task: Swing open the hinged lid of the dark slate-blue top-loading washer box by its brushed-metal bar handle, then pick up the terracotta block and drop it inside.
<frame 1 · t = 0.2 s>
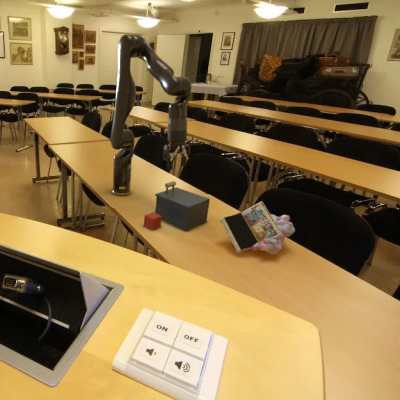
hand: (176, 167, 135), 22 cm above the table, tool pointing down, fingers open, 8 cm apart
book: (254, 246, 119), on the table
block: (152, 226, 135), on the table
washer: (180, 219, 140), on the table
lid: (182, 192, 136), point 13 cm above the table, hinge at 0.0°
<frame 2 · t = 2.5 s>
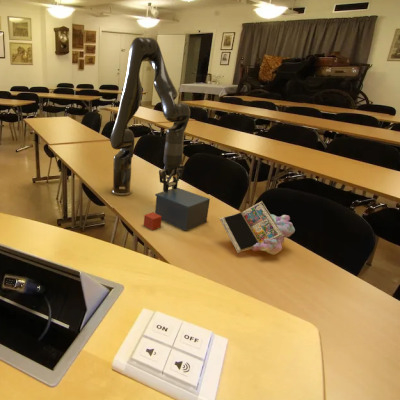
hand: (169, 190, 141), 12 cm above the table, tool pointing down, fingers closed on lid, 5 cm apart
lid: (182, 192, 136), point 13 cm above the table, hinge at 0.0°, touching gripper
everything else where it was.
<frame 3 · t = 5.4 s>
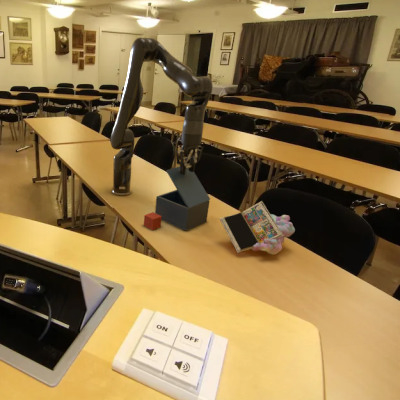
hand: (186, 172, 131), 22 cm above the table, tool pointing down, fingers closed on lid, 5 cm apart
lid: (192, 182, 130), point 18 cm above the table, hinge at 44.9°, touching gripper
everything else where it was.
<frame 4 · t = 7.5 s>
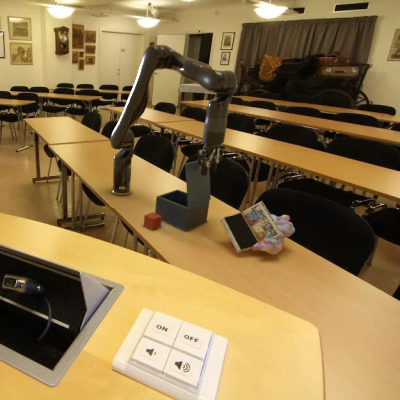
hand: (208, 173, 123), 24 cm above the table, tool pointing down, fingers closed on lid, 5 cm apart
lid: (203, 182, 126), point 19 cm above the table, hinge at 78.9°, touching gripper
everything else where it was.
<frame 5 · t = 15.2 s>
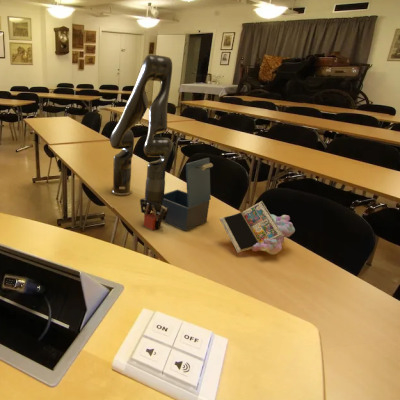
hand: (152, 225, 135), 0 cm above the table, tool pointing down, fingers closed on block, 5 cm apart
block: (152, 226, 135), on the table, touching gripper
lid: (203, 183, 126), point 19 cm above the table, hinge at 79.4°
everything else where it was.
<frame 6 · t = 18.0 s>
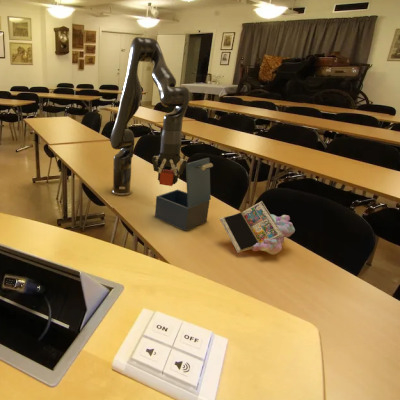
hand: (167, 182, 130), 18 cm above the table, tool pointing down, fingers closed on block, 5 cm apart
block: (167, 183, 130), point 18 cm above the table, touching gripper
everything else where it was.
when the fingers open (13 cm above the table, at t = 21.0 s): block drops 12 cm, resting on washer.
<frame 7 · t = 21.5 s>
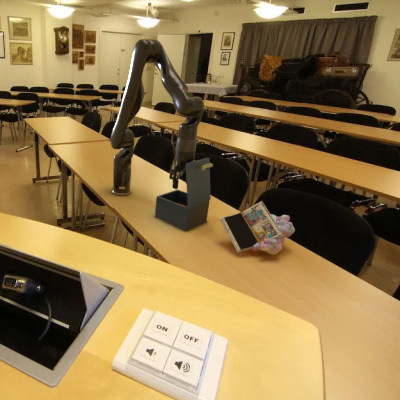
hand: (181, 186, 135), 15 cm above the table, tool pointing down, fingers open, 8 cm apart
block: (178, 216, 141), point 1 cm above the table, touching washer
everything else where it was.
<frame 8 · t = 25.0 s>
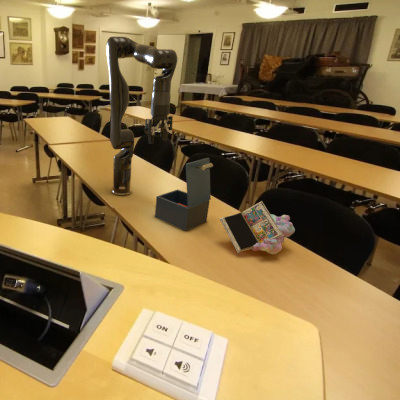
hand: (157, 142, 137), 32 cm above the table, tool pointing down, fingers open, 8 cm apart
nothing on the table moved.
at the end: lid at +79° (first picture: +0°); block inside the target area in the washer (1.1 cm from its centre), point 0.9 cm above the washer's base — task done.
